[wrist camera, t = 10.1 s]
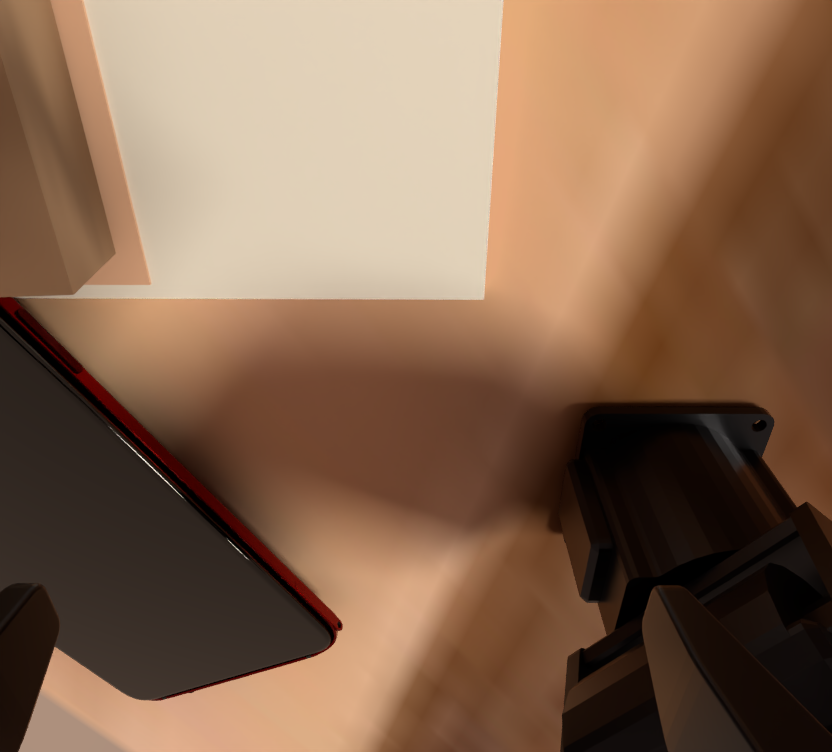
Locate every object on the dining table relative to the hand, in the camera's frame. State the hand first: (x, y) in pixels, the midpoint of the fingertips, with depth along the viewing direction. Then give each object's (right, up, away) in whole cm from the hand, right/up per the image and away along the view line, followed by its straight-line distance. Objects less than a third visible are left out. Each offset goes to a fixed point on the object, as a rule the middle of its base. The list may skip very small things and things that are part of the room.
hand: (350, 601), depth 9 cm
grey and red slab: (-13, 0, +14) cm, 19 cm away
